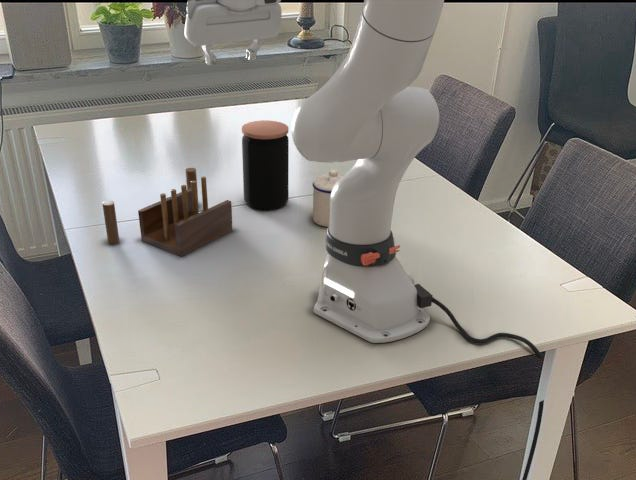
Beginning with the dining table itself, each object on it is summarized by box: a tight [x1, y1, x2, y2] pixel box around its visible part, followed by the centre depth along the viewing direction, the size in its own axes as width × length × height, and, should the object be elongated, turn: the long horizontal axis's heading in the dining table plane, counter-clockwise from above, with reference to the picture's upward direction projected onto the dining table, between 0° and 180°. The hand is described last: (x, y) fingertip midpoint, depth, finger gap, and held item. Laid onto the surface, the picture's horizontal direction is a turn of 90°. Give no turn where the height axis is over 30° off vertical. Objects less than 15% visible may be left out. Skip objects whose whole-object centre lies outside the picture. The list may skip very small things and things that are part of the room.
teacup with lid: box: [312, 169, 343, 228], centre depth 171 cm, size 12×9×12 cm
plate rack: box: [137, 176, 233, 257], centre depth 163 cm, size 12×16×12 cm
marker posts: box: [101, 167, 200, 246], centre depth 168 cm, size 2×27×9 cm, turn 143°
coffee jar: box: [241, 119, 290, 211], centre depth 176 cm, size 11×11×18 cm
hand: (231, 61), depth 155 cm, fingers open, 8 cm apart
